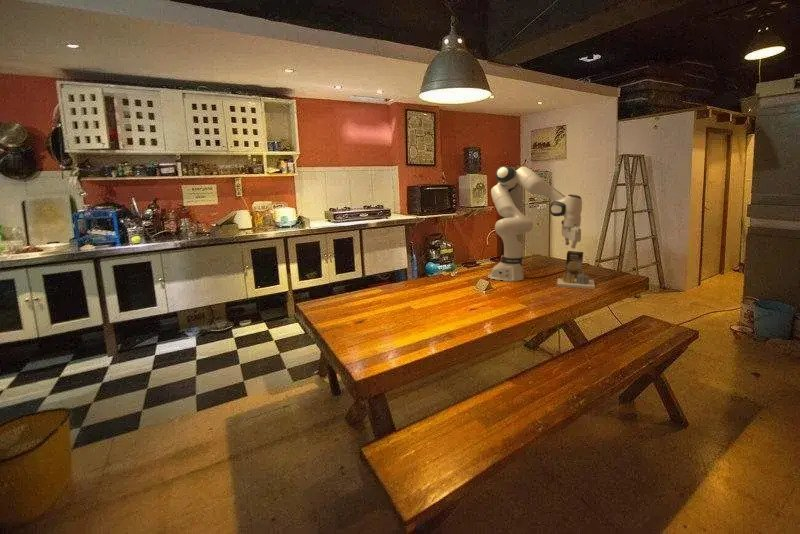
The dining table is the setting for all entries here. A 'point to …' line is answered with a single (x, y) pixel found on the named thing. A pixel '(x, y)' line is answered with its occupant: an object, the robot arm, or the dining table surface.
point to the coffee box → (574, 263)
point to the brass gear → (568, 278)
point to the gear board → (578, 282)
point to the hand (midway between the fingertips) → (570, 246)
